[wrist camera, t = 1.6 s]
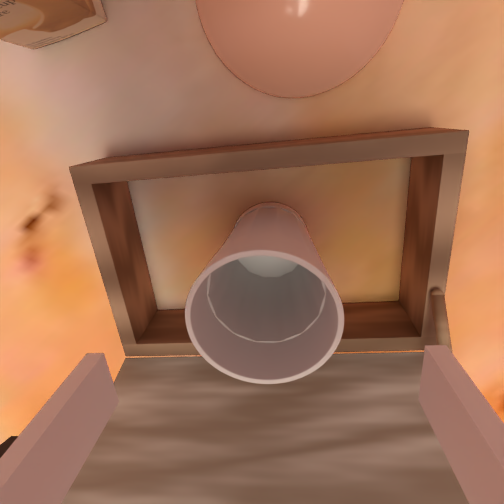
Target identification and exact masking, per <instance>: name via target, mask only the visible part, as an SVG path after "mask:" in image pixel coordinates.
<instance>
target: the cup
mask: <svg viewBox="0 0 504 504" xmlns="http://www.w3.org/2000/svg"><path fill="white" fill-rule="evenodd" d="M185 322H186V327H187V331H188V334H189V337H190V339H191V341H192V343H193V345H194V346H195V348H196V349H197V351H198V352H199V353H200V355H201V356H202V357H203V358H204V359H205V360H206V361H207V362H208V363H210V364H211V365H212V366H213V367H215V368H216V369H218V370H219V371H221V372H223V373H225V374H227V375H229V376H231V377H233V378H236V379H239V380H242V381H246V382H251V383H258V384H278V383H285V382H290V381H293V380H296V379H299V378H302V377H304V376H306V375H308V374H310V373H312V372H314V371H315V370H317V369H318V368H319V367H321V366H322V365H323V364H324V363H325V362H326V361H327V360H328V359H329V358H330V357H331V356H332V354H333V353H334V351H335V350H336V348H337V346H338V344H339V342H340V340H341V337H342V334H343V329H344V310H343V305H342V302H341V299H340V296H339V294H338V292H337V290H336V288H335V286H334V284H333V282H332V280H331V279H330V277H329V275H328V273H327V271H326V269H325V267H324V265H323V263H322V261H321V259H320V256H319V254H318V252H317V250H316V248H315V246H314V244H313V242H312V240H311V238H310V235H309V233H308V230H307V227H306V224H305V222H304V221H303V219H302V218H301V216H300V215H299V214H298V213H297V212H296V211H295V210H293V209H292V208H290V207H288V206H286V205H283V204H280V203H274V202H266V203H260V204H257V205H255V206H252V207H251V208H249V209H248V210H246V211H245V212H244V213H243V214H242V215H241V216H240V217H239V219H238V220H237V222H236V224H235V227H234V229H233V231H232V232H231V234H230V235H229V237H228V238H227V240H226V241H225V243H224V244H223V245H222V247H221V248H220V250H219V251H218V252H217V253H216V254H215V255H214V257H213V258H212V259H211V261H210V262H209V263H208V265H207V266H206V267H205V269H204V270H203V271H202V273H201V274H200V275H199V277H198V278H197V279H196V281H195V282H194V284H193V285H192V287H191V289H190V291H189V294H188V297H187V300H186V305H185Z"/></svg>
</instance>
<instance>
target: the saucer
mask: <svg viewBox="0 0 504 504" xmlns="http://www.w3.org/2000/svg"><path fill="white" fill-rule="evenodd" d="M403 1H404V0H196V4H197V10H198V13H199V17H200V20H201V23H202V26H203V29H204V31H205V34H206V36H207V38H208V40H209V42H210V44H211V46H212V47H213V49H214V51H215V53H216V54H217V55H218V57H219V58H220V59H221V61H222V62H223V63H224V64H225V66H226V67H227V68H228V69H229V70H230V71H231V72H232V73H233V74H234V75H236V76H237V77H238V78H239V79H241V80H242V81H243V82H244V83H246V84H248V85H249V86H251V87H253V88H254V89H256V90H259V91H261V92H263V93H266V94H269V95H273V96H277V97H286V98H302V97H308V96H313V95H317V94H320V93H323V92H326V91H328V90H330V89H332V88H334V87H336V86H339V85H340V84H342V83H343V82H345V81H347V80H348V79H350V78H351V77H353V76H354V75H355V74H356V73H357V72H359V71H360V70H361V69H362V68H363V67H364V66H365V65H366V64H367V63H368V62H369V61H370V60H371V59H372V58H373V57H374V55H375V54H376V53H377V52H378V50H379V49H380V48H381V46H382V45H383V44H384V42H385V40H386V39H387V37H388V35H389V34H390V32H391V30H392V28H393V26H394V24H395V22H396V20H397V17H398V15H399V13H400V10H401V7H402V4H403Z"/></svg>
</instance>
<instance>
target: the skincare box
mask: <svg viewBox="0 0 504 504" xmlns="http://www.w3.org/2000/svg"><path fill="white" fill-rule="evenodd" d="M106 21H107V18H106V15H105V13H104V10H103V7H102V4H101V1H100V0H0V40H3V41H6V42H10V43H13V44H16V45H20V46H23V47H27V48H30V49H36V48H39V47H42V46H46V45H48V44H52V43H54V42H57V41H60V40H63V39H66V38H68V37H71V36H74V35H76V34H79V33H81V32H83V31H86V30H88V29H90V28H93V27H95V26H97V25H100V24H102V23H104V22H106Z"/></svg>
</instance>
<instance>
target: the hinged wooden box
mask: <svg viewBox="0 0 504 504" xmlns="http://www.w3.org/2000/svg"><path fill="white" fill-rule="evenodd" d="M468 136H469V131H468V130H457V129H445V128H434V127H430V128H419V129H409V130H398V131H387V132H376V133H366V134H355V135H344V136H333V137H323V138H312V139H301V140H290V141H279V142H269V143H258V144H247V145H236V146H226V147H215V148H204V149H193V150H183V151H172V152H161V153H150V154H140V155H129V156H118V157H107V158H103V159H99V160H95V161H91V162H87V163H83V164H79V165H75V166H71V167H69V170H70V173H71V176H72V180H73V183H74V186H75V190H76V193H77V196H78V200H79V203H80V206H81V210H82V213H83V216H84V219H85V223H86V226H87V229H88V233H89V236H90V239H91V243H92V246H93V249H94V253H95V256H96V259H97V263H98V266H99V269H100V273H101V276H102V279H103V283H104V286H105V289H106V292H107V296H108V299H109V302H110V306H111V309H112V312H113V316H114V319H115V322H116V326H117V329H118V332H119V336H120V339H121V342H122V346H123V349H124V352H125V356H168V355H200V353H199V352H198V351H197V349H196V348H195V346H194V345H193V343H192V341H191V339H190V337H189V334H188V331H187V327H186V322H185V309H178V310H157V305H156V301H155V297H154V293H153V289H152V285H151V280H150V276H149V272H148V268H147V264H146V259H145V255H144V251H143V247H142V243H141V239H140V234H139V230H138V226H137V222H136V218H135V213H134V209H133V205H132V201H131V197H130V192H129V188H128V184H127V181H133V180H145V179H156V178H168V177H180V176H192V175H204V174H216V173H228V172H240V171H252V170H264V169H276V168H288V167H300V166H312V165H324V164H335V163H347V162H359V161H371V160H383V159H395V158H407V157H412V158H411V169H410V180H409V192H408V203H407V214H406V225H405V237H404V248H403V259H402V270H401V282H400V293H399V301H395V302H368V303H342V305H343V310H344V329H343V334H342V337H341V340H340V342H339V344H338V346H337V348H336V350H335V351H334V352H361V351H409V350H425V346H426V345H446V346H447V347H448V348H449V350H450V351H451V352H452V347H451V340H450V332H449V325H448V318H447V311H446V304H445V297H444V296H445V290H446V283H447V276H448V270H449V263H450V256H451V250H452V243H453V236H454V229H455V223H456V216H457V209H458V203H459V196H460V189H461V183H462V176H463V169H464V163H465V156H466V149H467V143H468ZM423 358H424V352H402V353H352V354H332V356H331V357H330V358H329V359H328V360H327V361H326V362H325V363H324V364H323V365H322V366H321V367H319V368H318V369H317V370H315V371H314V372H312V373H310V374H308V375H306V376H304V377H302V378H299V379H296V380H293V381H290V382H285V383H278V384H258V383H251V382H246V381H242V380H239V379H236V378H233V377H231V376H229V375H227V374H225V373H223V372H221V371H219V370H218V369H216V368H215V367H213V366H212V365H211V364H210V363H208V362H207V361H206V360H205V359H204V358H203V357H154V358H125V360H124V363H123V365H122V367H121V369H120V371H119V373H118V375H117V377H116V379H115V381H114V383H113V384H114V387H115V390H116V393H117V396H118V399H119V403H118V405H117V407H116V408H115V410H114V412H113V414H112V415H111V417H110V419H109V421H108V422H107V424H106V426H105V428H104V429H103V431H102V433H101V435H100V436H99V438H98V440H97V442H96V443H95V445H94V447H93V449H92V450H91V452H90V454H89V456H88V457H87V459H86V461H85V463H84V464H83V466H82V468H81V470H80V471H79V473H78V475H77V477H76V478H75V480H74V482H73V484H72V485H71V487H70V489H69V491H68V492H67V494H66V496H65V498H64V499H63V501H62V503H61V504H469V502H468V500H467V498H466V496H465V494H464V492H463V490H462V488H461V486H460V484H459V482H458V480H457V478H456V476H455V474H454V472H453V470H452V467H451V465H450V463H449V461H448V459H447V457H446V455H445V453H444V451H443V449H442V447H441V445H440V443H439V441H438V439H437V437H436V435H435V433H434V431H433V429H432V427H431V425H430V423H429V421H428V419H427V417H426V415H425V413H424V410H423V408H422V406H421V404H420V402H419V400H418V398H419V390H420V382H421V374H422V366H423Z"/></svg>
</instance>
